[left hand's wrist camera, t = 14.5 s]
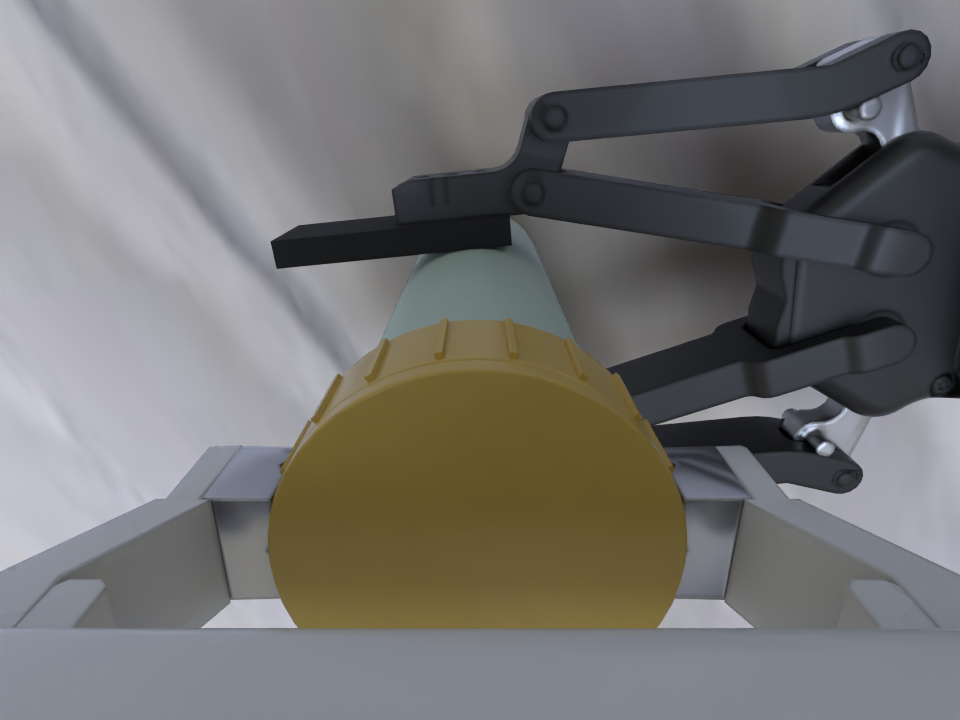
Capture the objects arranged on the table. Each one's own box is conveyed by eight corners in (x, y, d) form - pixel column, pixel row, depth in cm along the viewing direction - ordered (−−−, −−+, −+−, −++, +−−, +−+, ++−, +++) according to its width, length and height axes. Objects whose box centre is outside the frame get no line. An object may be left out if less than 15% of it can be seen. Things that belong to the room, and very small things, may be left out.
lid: (505, 663, 12) (510, 766, 10) (236, 508, 10) (183, 594, 9) (727, 454, 10) (784, 531, 8) (439, 235, 9) (427, 267, 7)
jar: (395, 275, 25) (246, 550, 9) (472, 182, 24) (456, 311, 8) (484, 347, 26) (493, 704, 10) (562, 262, 25) (714, 521, 9)
